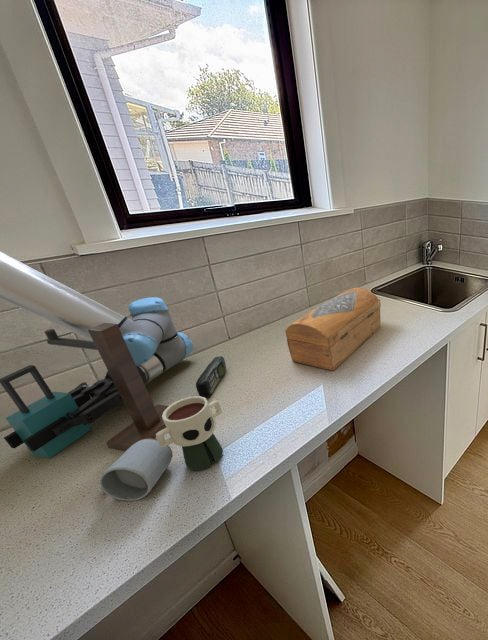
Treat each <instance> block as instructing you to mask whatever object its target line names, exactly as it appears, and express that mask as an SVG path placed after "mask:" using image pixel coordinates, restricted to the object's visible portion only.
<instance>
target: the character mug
mask: <svg viewBox="0 0 488 640" xmlns="http://www.w3.org/2000/svg"><path fill="white" fill-rule="evenodd" d="M167 406H168V407H167V409H166V410H165V411H164V412H163V415H162V419H163V421H164V423H165V425H166V428H164V429H163V430H161V431H159V432H158V433H157V434H156V437H155V439H157V441H158V443H159V445H160V446H161V447H166V446H170V445H171V444H175V445H177V446H179V447H181V449H182V455H183V459H184V462H185V465H186V468H188V469H190V470H192V471H202V470H205V469H207V468H210V467H211V466H212V463H211V461H212V460H213V459H214V462H215V463H217V462H218V461H219V460H220V459H221V458H222V456H223V452H224V449H223V447H222V445H221V443H220V442H219V440H218V438H217V437H216V435H215V434H214V432H215V430H216V425H217V421H216V419H215V418H216V417H218V416H220V415H221V414H222V407H221V404H220V401H219V400H213V401H211V402H209V401H208V399H207V398H204V397H201V396H199V395H197V396H196V395H194V396H188V397H184V398H182V399H179V400H177V401H175V402H173V403H171V404H170V405H167ZM212 408H214V409H215V411H212ZM167 434H169V438H167V439H165V437H164V436H165V435H167Z"/></svg>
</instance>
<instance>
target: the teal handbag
mask: <svg viewBox="0 0 488 640" xmlns="http://www.w3.org/2000/svg"><path fill="white" fill-rule="evenodd" d="M27 374H30V375H31V376H32V378H33V379H34V381H35V382H36V384H37V386H38V387H39V389H40V390H41V391H42V393H43V394H44V396H43V397H41V398H40V399H38V400H36V401H34V402H32V403H30V404H28V405H26V403H25V402H24V401H23V399H22V398H21V396H20V395H19V394H18V392H17V391H16V390H15V388H14V387H13V385H12V384H11V382H12V381H15V380H16V379H18V378H21V377H23V376H25V375H27ZM0 385H1V386H2V388H3V389H4V390H5V392H6V393H7V395H8V396H9V398H10V399H11V400H12V401H13V402H14V404H15V405H16V406H15V407H17V408H18V411H15V412H14V413H12V414H10V415H9V416H7V417H5V420H6V421H7V423H8V424H9V425H10V426H11V428H12V429H13V430H14V431H16V433H17V434H18V435H19V437H20V438H21V439H22V441H23V442H24V440H25V439H27V438H28V437H30V436H32V435H33V434H35V433H37V432H38V431H40V430H41V429H43V428H45V427H46V426H48V425H50V424H51V423H53V422H54V421H56V420H58V419H59V418H61V417H66V418H67V419H68V416H67V415H66V413H71V412H74V411H75V410H77V409H78V406H77V404H76V403H75V401H74V400H73V398H72V396H71V395H70V393H68V392H61V391H55V390H54V391H53V392H52V390H51V389H50V387H49V385H48V384H47V383H46V381H45V379H44V377H43V376H42V374H41V373H40V372H39V370H38V369H37V367H36V365H34V364H29V365H26V366H25V367H23V368H21V369H18V370H15V371H14V372H11V373H9V374H8V375H5V376H2V377H1V378H0ZM90 431H92V427H91V425H90V424H88V425H84V424H83V423H82V424H80V425H78V426H73V427H71V428H70V429H68V430H67V431H65V432H64V433H62V434H61V435H59V436H57V437H56V438H54V439H53V440H51V441H50V442H48V443H47V444H45V445H44V446H42V447H40V448H39V449H37V450H36V451H31V450H30V449H29V447H28V446H27V445H26V443H25V442H24V443H23V444H24V445H25V446H26V448H27V449H28V450H29V451H30V453H31V454H32V456H33V457H39V458H44V459H51V458H53V457H54V456H55V455H57V454H58V453H60V452H61V451H63V450H64V449H66V448H67V447H68V446H70V445H71V444H73V443H74V442H76V441H77V440H79V439H80V438H81V437H84V436H85V435H86V434H87V433H89V432H90Z"/></svg>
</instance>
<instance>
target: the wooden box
mask: <svg viewBox="0 0 488 640" xmlns="http://www.w3.org/2000/svg"><path fill="white" fill-rule="evenodd" d="M379 327H380V328H381V299H379V298H378V296H377V295H376V294H375V293H374V292H372V291H371V290H368V289H366V288H363V287H353V288H349V289H347V290H345V291H342V292H341V293H339V294H337V295H336V296H334V297H333V298H331V299H329V300H327V301H325V302H323V303H321V304H320V305H319V306H318V307H315V308H314V309H313V310H311V311H309V312H308V313H307V314H305V315H303V316H301V317H300V318H298V319H297V320H295V321H294V322H292V323H291V324H289V325H287V327H286V328H285V336H286V337H285V338H286V343H287V348H288V351H289V354H290V358H291V360H292V362H295V363H298V364H302V365H306V366H311V367H314V368H319V369H324V370H328V371H335V370H336V369H337V368H338V367H339V366H340V365H342V364H343V362H344V361H346V360H347V359H348V358H349V357H350V356H351V355H352V354H353V353H354V352H356V350H357V349H358V348H359V347H361V346H362V345H363V344H364V343H365V342H366V341H367V340H368V339H369V338H370V337H371V336H372V335H373V334H375V333H374V331H376V330H377V329H378V328H379ZM380 328H379V329H380ZM379 329H378V330H379ZM378 330H377V331H378ZM377 331H376V332H377ZM372 333H373V334H372ZM371 334H372V335H371ZM370 335H371V336H370ZM369 336H370V337H369ZM368 337H369V338H368ZM367 338H368V339H367ZM366 339H367V340H366ZM365 340H366V341H365ZM364 341H365V342H364ZM363 342H364V343H363ZM362 343H363V344H362ZM361 344H362V345H361Z"/></svg>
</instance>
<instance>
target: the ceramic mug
mask: <svg viewBox="0 0 488 640" xmlns="http://www.w3.org/2000/svg"><path fill="white" fill-rule="evenodd" d="M173 456H174V455H173V450H172V449H171V446H170V445H168V446H166V447H161V446H160V445H159V443H158V441H157V438H154V439H143V440H140V441H138V442H136V443H135V444H134V445H132V446H131V447H130V448H129V449H127V450H126V451H125V450H124V452H123V453H122V455H120V456H119V457H118V458H117V459H116V460H115V461H114V462H113V463H112V464H110V466H109V467H108V468H107V469H105V471H104V472H103V473H102V474H101V476H100V477H99V486H98V488H99V490H101V491H102V492H103V493H105V494H106V495H108V496H109V497H111V498H114V499H117V500H119V501H127V502H128V501H129V502H132V501H138V500H141V499H143V498H145V497H146V496H147V495H148V494H150V492H151V491H152V489H153V488H154V486H155V485H156V484H157V482H158V481H159V479H160V477H162V475H163V474H164V472H165V471H166V470H167V468H168V467H169V466H170V463H171V462H172V459H173Z"/></svg>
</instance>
